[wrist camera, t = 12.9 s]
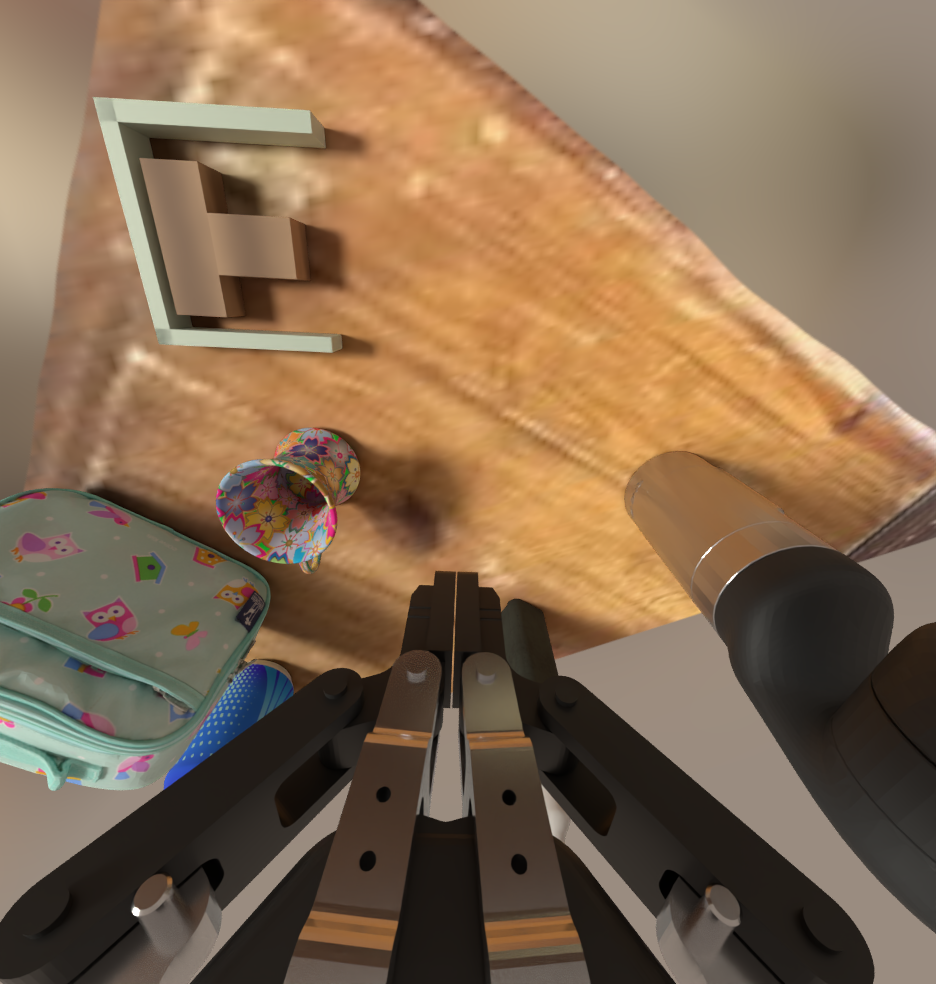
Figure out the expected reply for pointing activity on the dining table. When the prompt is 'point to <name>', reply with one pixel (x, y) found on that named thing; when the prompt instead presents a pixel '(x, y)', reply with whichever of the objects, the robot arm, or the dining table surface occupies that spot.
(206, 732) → the beer can
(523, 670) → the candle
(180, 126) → the bay
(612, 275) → the dining table surface
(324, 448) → the mug
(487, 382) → the dining table surface
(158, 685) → the lunch box
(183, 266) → the t block
